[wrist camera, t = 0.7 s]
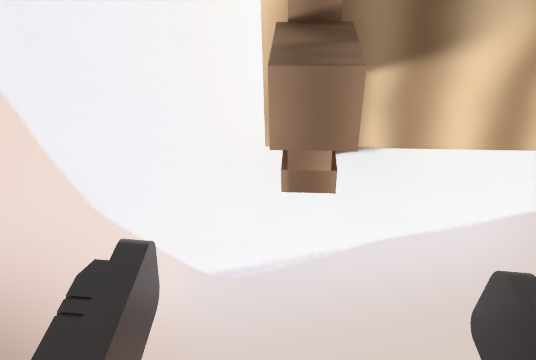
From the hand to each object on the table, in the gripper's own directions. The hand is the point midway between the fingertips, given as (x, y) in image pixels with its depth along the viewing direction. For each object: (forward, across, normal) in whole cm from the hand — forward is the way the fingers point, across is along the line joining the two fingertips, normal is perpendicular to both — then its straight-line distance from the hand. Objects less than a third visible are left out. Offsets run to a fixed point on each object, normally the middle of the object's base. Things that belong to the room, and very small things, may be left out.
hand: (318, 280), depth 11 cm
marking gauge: (+21, -1, +3) cm, 21 cm away
